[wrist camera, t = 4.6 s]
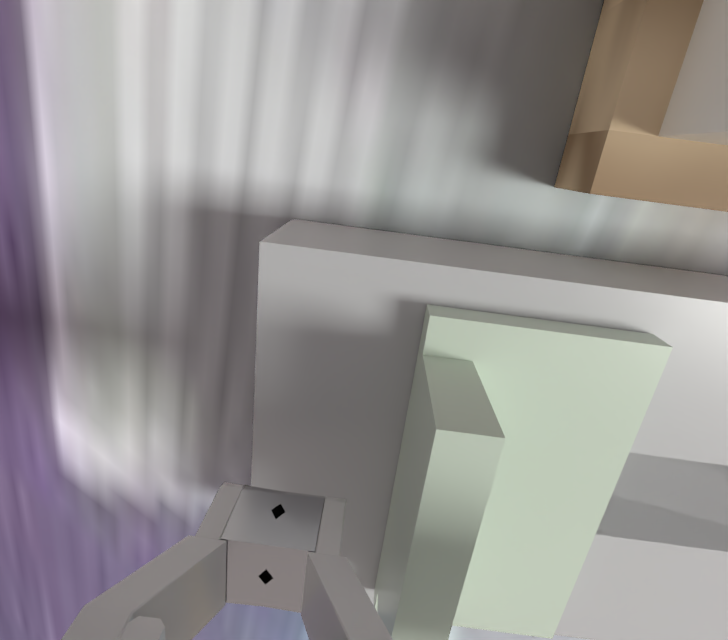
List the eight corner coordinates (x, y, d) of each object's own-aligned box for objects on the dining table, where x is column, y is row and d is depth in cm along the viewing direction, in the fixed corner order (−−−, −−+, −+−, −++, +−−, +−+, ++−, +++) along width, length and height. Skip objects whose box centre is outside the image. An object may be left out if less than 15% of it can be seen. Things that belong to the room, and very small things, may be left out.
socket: (292, 219, 14) (259, 241, 10) (934, 303, 14) (1132, 356, 10) (274, 505, 18) (246, 594, 15) (767, 569, 18) (864, 675, 15)
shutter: (427, 304, 11) (447, 378, 7) (652, 333, 11) (785, 422, 7) (374, 590, 14) (370, 735, 11) (543, 613, 14) (596, 765, 11)
